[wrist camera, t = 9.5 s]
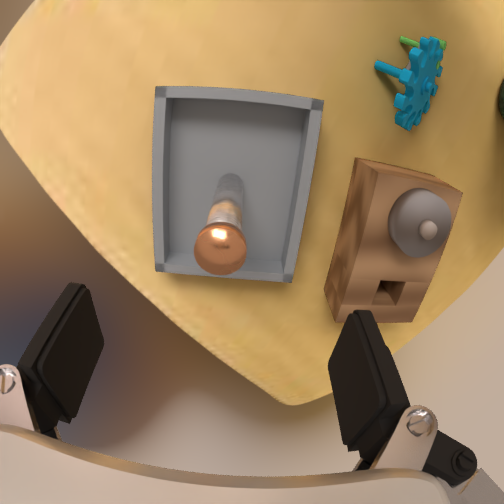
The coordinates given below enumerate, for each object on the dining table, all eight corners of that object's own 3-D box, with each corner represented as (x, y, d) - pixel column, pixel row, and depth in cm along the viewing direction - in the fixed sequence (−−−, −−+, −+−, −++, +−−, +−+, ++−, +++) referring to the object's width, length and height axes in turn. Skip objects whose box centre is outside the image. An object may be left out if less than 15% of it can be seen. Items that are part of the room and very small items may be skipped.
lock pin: (215, 168, 28) (194, 227, 16) (247, 171, 28) (249, 231, 17) (214, 198, 29) (193, 272, 18) (244, 201, 29) (244, 277, 18)
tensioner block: (355, 157, 28) (392, 182, 20) (432, 175, 29) (479, 203, 21) (323, 289, 36) (341, 340, 28) (393, 292, 37) (421, 338, 29)
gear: (411, 149, 26) (402, 99, 18) (365, 123, 29) (336, 72, 20) (452, 75, 23) (449, 15, 14) (407, 55, 26) (390, -5, 17)
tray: (165, 87, 24) (155, 86, 21) (314, 100, 25) (323, 100, 22) (163, 254, 33) (155, 271, 30) (287, 264, 34) (291, 282, 31)
